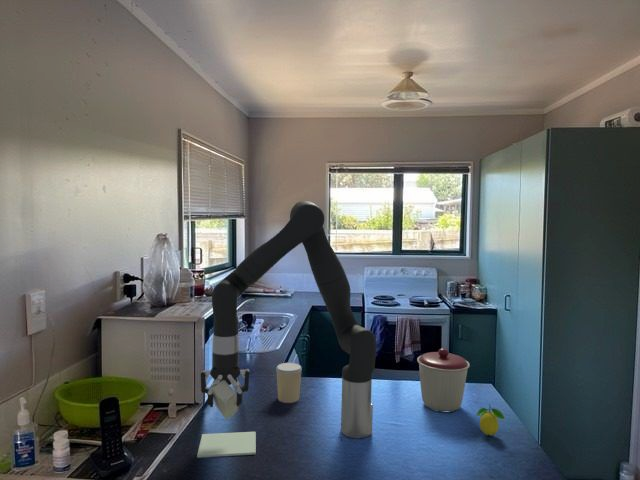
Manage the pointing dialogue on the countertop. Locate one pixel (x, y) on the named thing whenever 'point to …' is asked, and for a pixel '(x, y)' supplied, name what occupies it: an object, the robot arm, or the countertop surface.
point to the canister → (442, 379)
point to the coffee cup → (288, 382)
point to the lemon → (489, 420)
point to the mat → (227, 444)
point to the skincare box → (225, 399)
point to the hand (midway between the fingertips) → (225, 405)
